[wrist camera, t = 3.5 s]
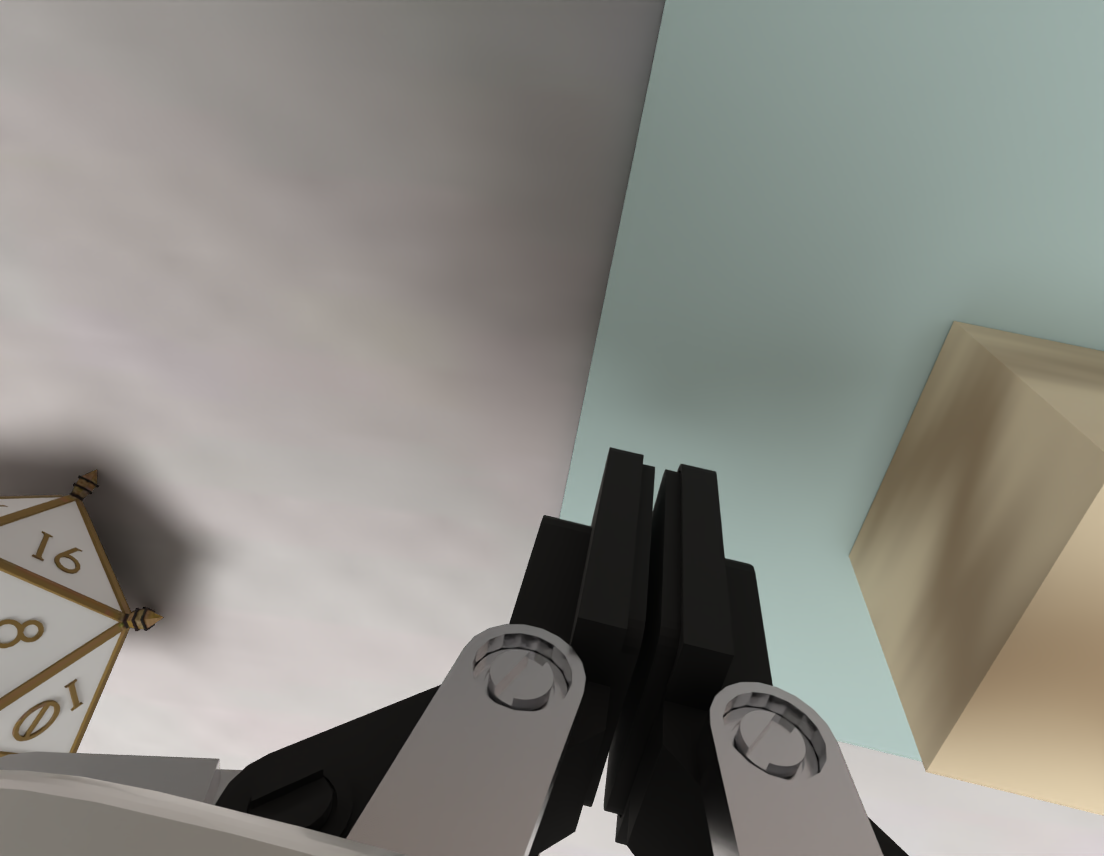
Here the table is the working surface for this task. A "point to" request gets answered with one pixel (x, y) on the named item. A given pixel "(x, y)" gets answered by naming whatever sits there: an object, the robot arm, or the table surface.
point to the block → (998, 566)
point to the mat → (836, 275)
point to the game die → (56, 620)
